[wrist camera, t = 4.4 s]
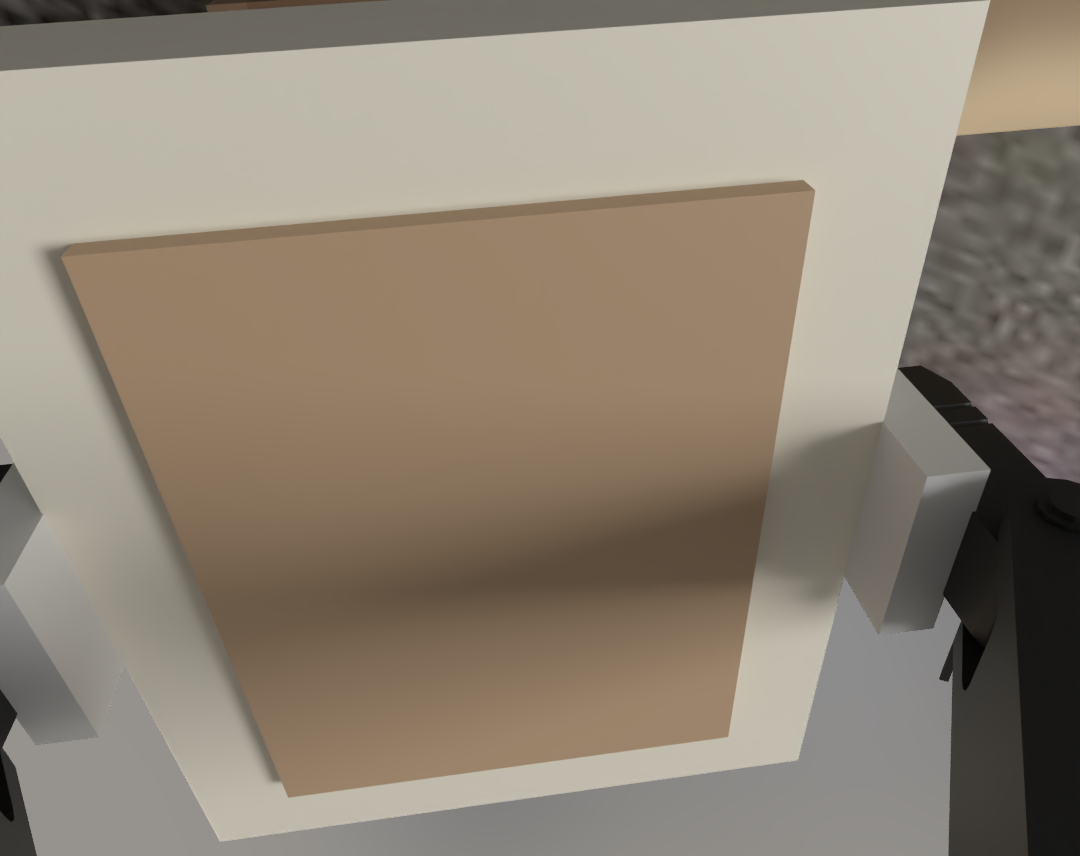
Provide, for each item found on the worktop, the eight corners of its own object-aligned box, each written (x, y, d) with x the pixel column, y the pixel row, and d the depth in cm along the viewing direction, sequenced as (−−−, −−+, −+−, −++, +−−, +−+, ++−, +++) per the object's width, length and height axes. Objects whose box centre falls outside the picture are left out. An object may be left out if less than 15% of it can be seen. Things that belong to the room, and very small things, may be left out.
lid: (-53, 30, 8) (-216, 93, 6) (869, -32, 9) (1010, 4, 7) (244, 717, 16) (216, 859, 13) (752, 650, 16) (804, 775, 14)
